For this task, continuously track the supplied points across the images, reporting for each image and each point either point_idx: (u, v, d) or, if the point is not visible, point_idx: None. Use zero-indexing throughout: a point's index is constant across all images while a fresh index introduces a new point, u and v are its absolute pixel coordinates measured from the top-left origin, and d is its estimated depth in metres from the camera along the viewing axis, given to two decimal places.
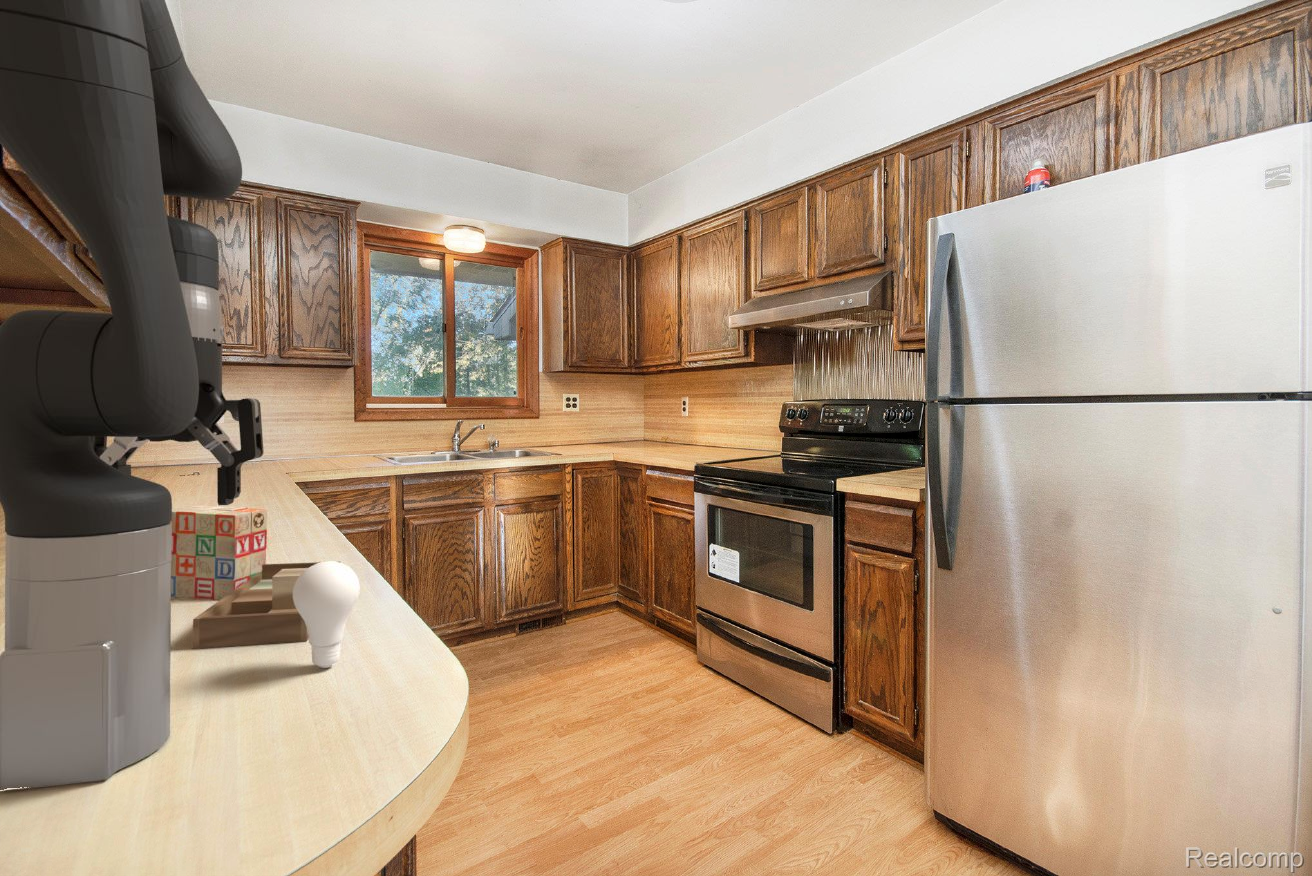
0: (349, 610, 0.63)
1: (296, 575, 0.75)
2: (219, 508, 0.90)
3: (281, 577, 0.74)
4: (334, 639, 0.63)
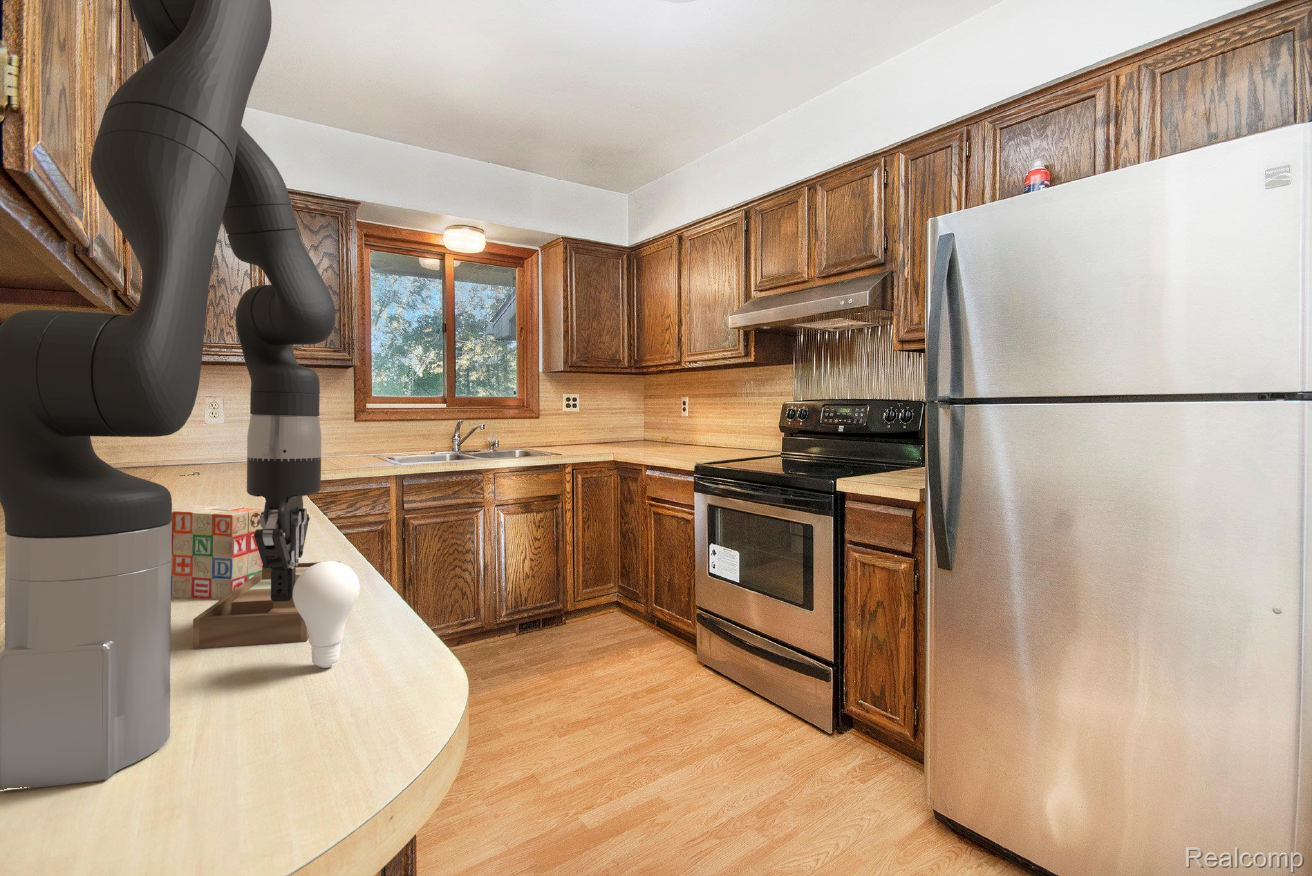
0: (349, 610, 0.63)
1: (297, 574, 0.76)
2: (216, 508, 0.90)
3: None
4: (334, 639, 0.63)
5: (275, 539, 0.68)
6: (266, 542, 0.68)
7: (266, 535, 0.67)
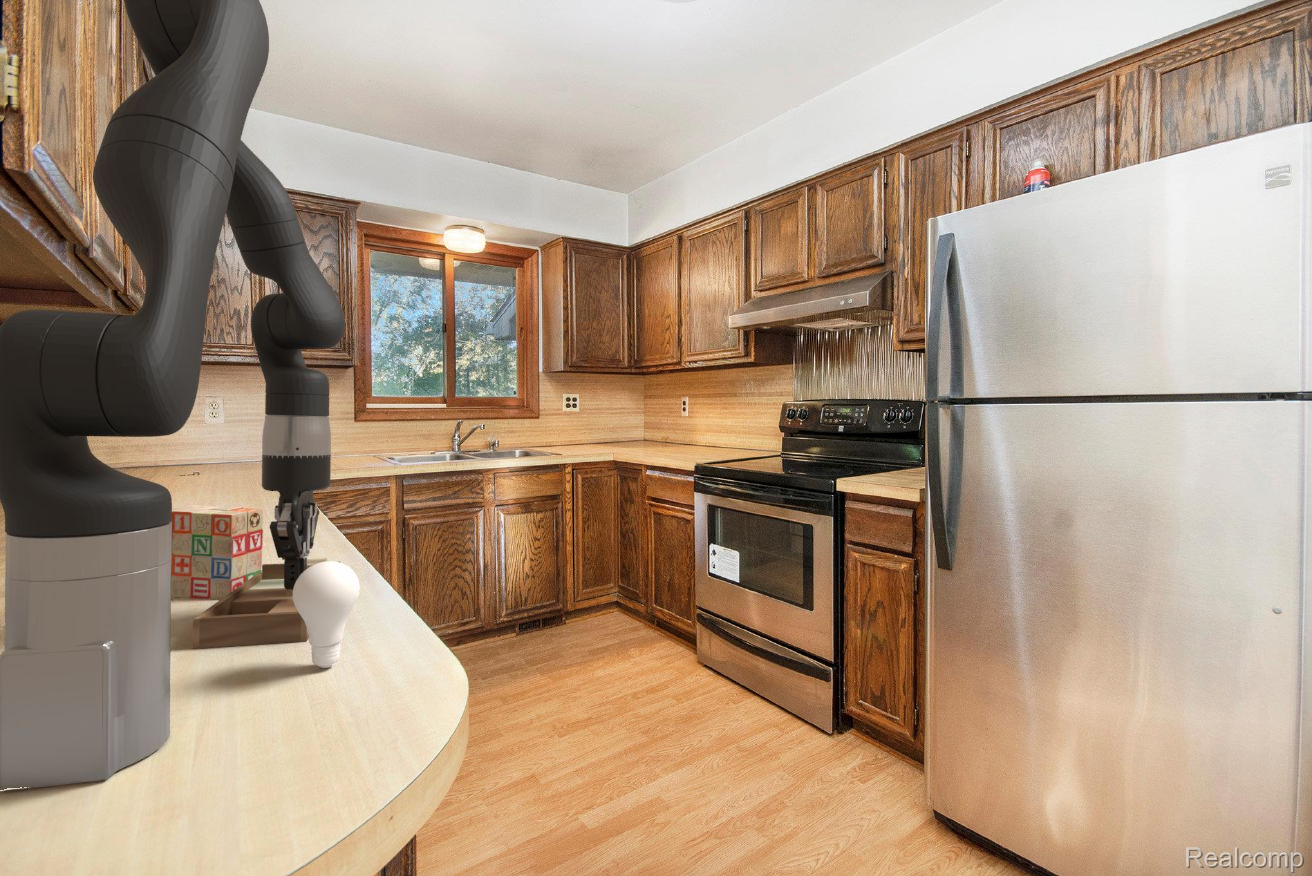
0: (349, 610, 0.63)
1: (307, 565, 0.81)
2: (215, 508, 0.90)
3: None
4: (334, 639, 0.63)
5: (289, 530, 0.73)
6: (280, 533, 0.73)
7: (280, 527, 0.72)
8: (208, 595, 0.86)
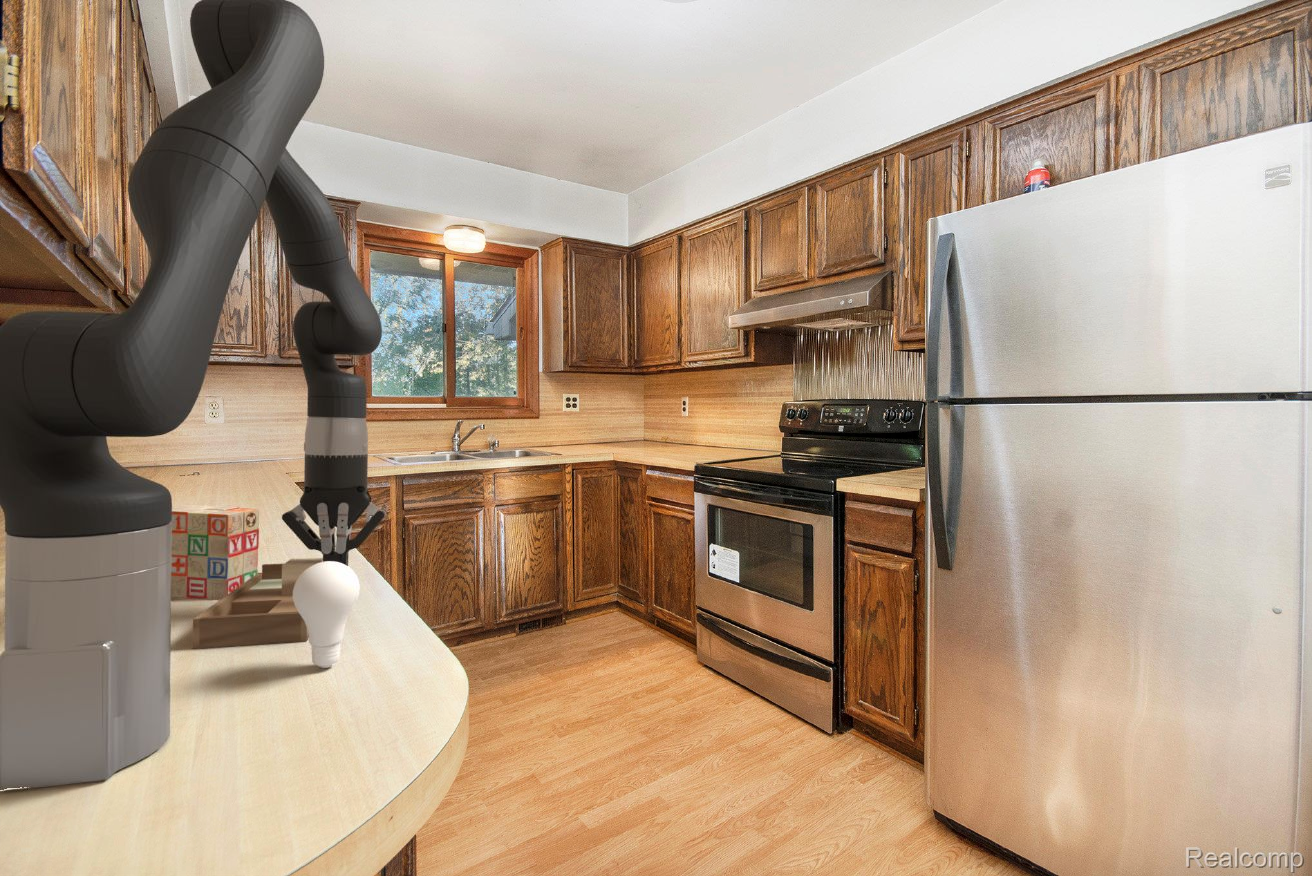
0: (349, 610, 0.63)
1: (304, 564, 0.81)
2: (211, 508, 0.90)
3: (290, 566, 0.80)
4: (334, 639, 0.63)
5: None
6: (381, 520, 0.84)
7: (385, 514, 0.84)
8: (204, 595, 0.86)
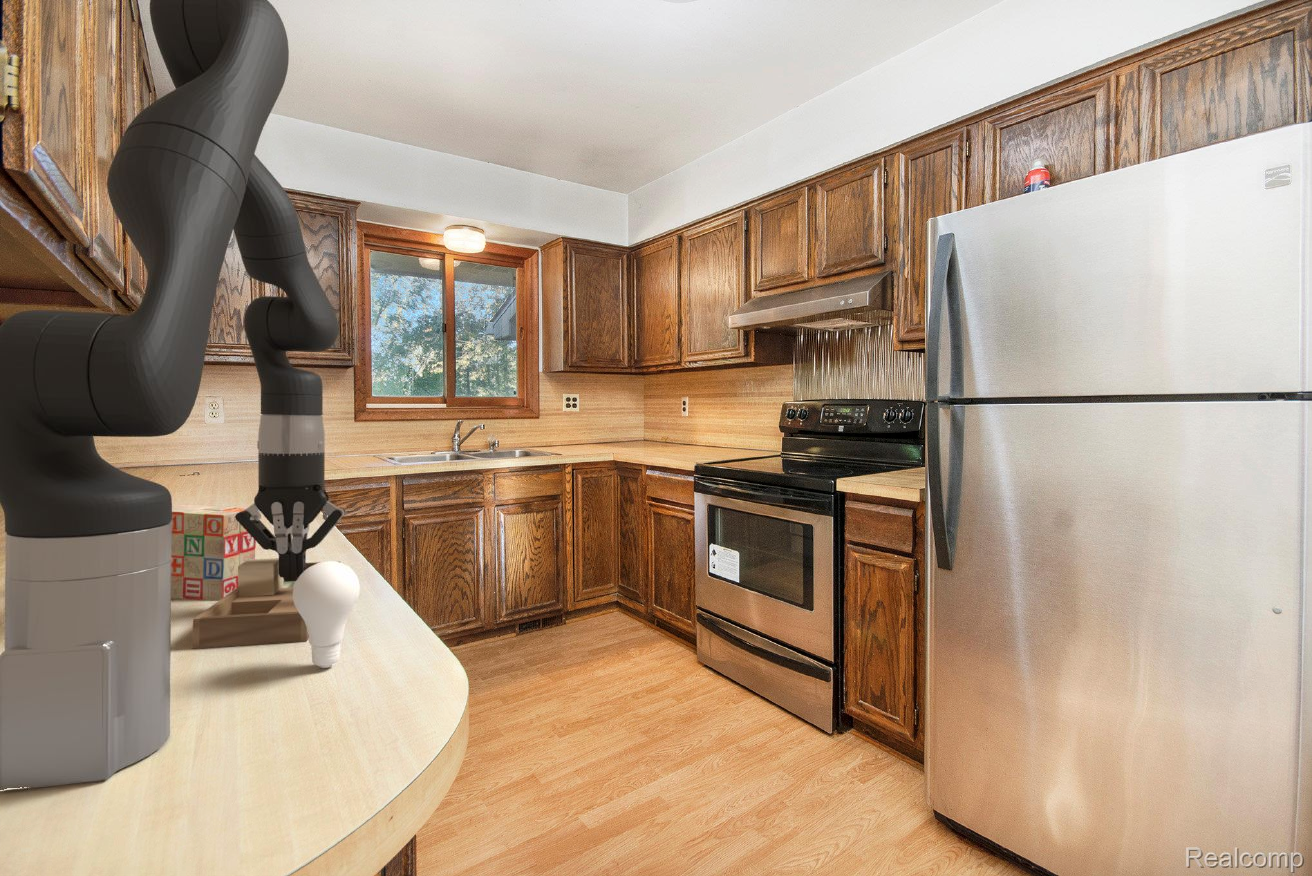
0: (349, 610, 0.63)
1: (260, 564, 0.80)
2: (208, 508, 0.90)
3: (246, 566, 0.79)
4: (334, 639, 0.63)
5: (342, 516, 0.84)
6: (338, 519, 0.83)
7: (343, 513, 0.83)
8: (200, 595, 0.86)
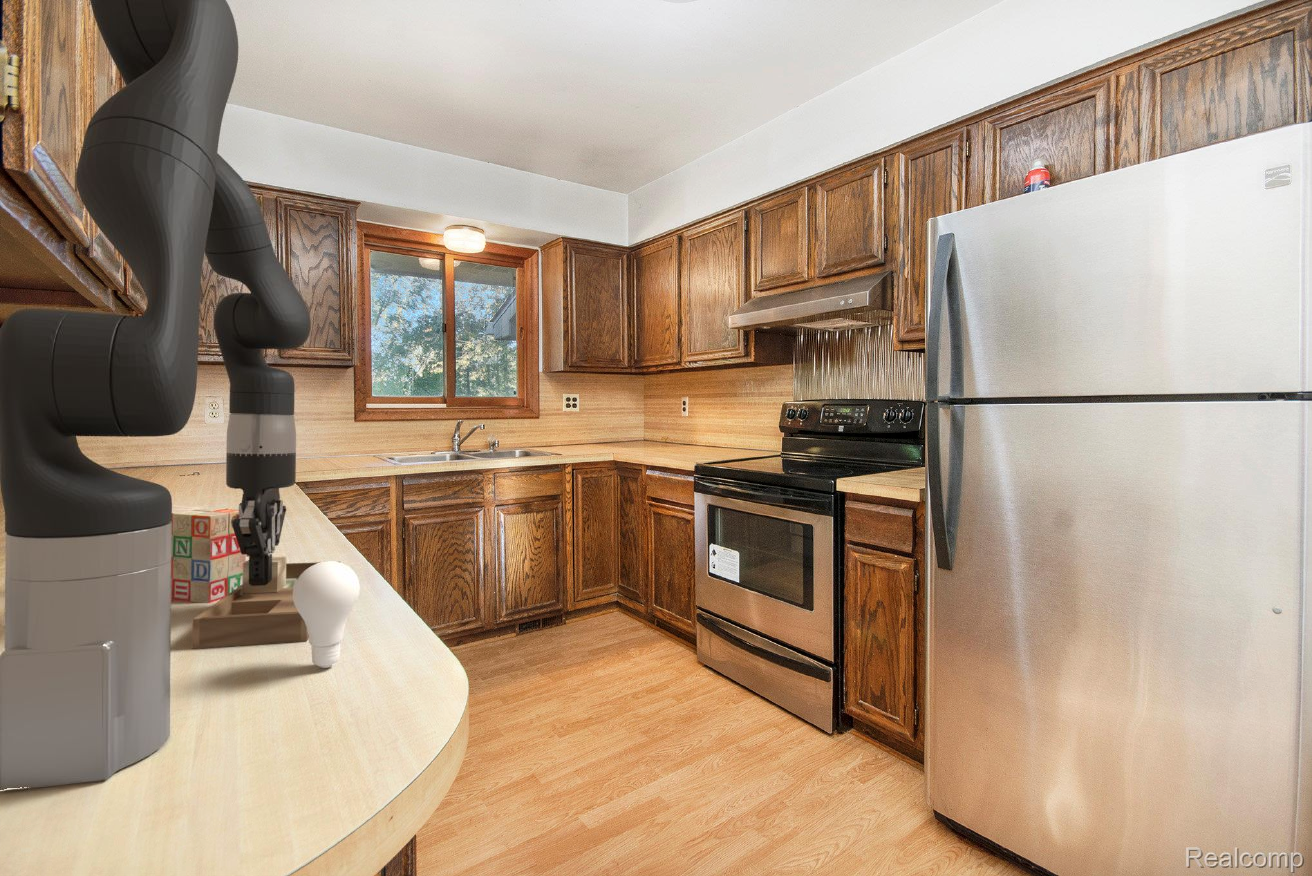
0: (349, 610, 0.63)
1: None
2: (199, 509, 0.89)
3: None
4: (334, 639, 0.63)
5: (251, 527, 0.74)
6: (243, 530, 0.74)
7: (243, 524, 0.73)
8: (188, 597, 0.85)
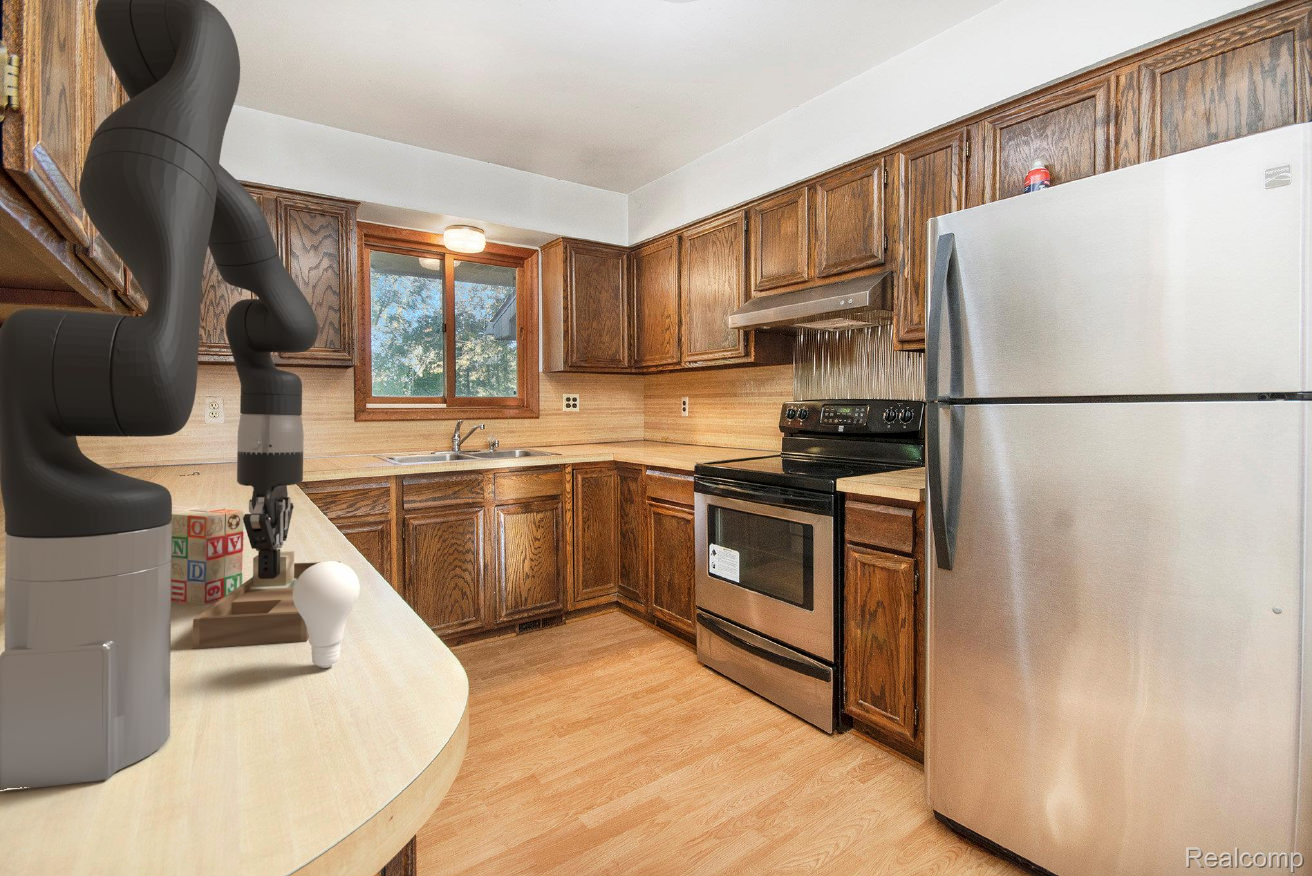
0: (349, 610, 0.63)
1: None
2: (196, 509, 0.88)
3: None
4: (334, 639, 0.63)
5: (261, 522, 0.77)
6: (253, 525, 0.77)
7: (253, 519, 0.77)
8: (184, 598, 0.85)
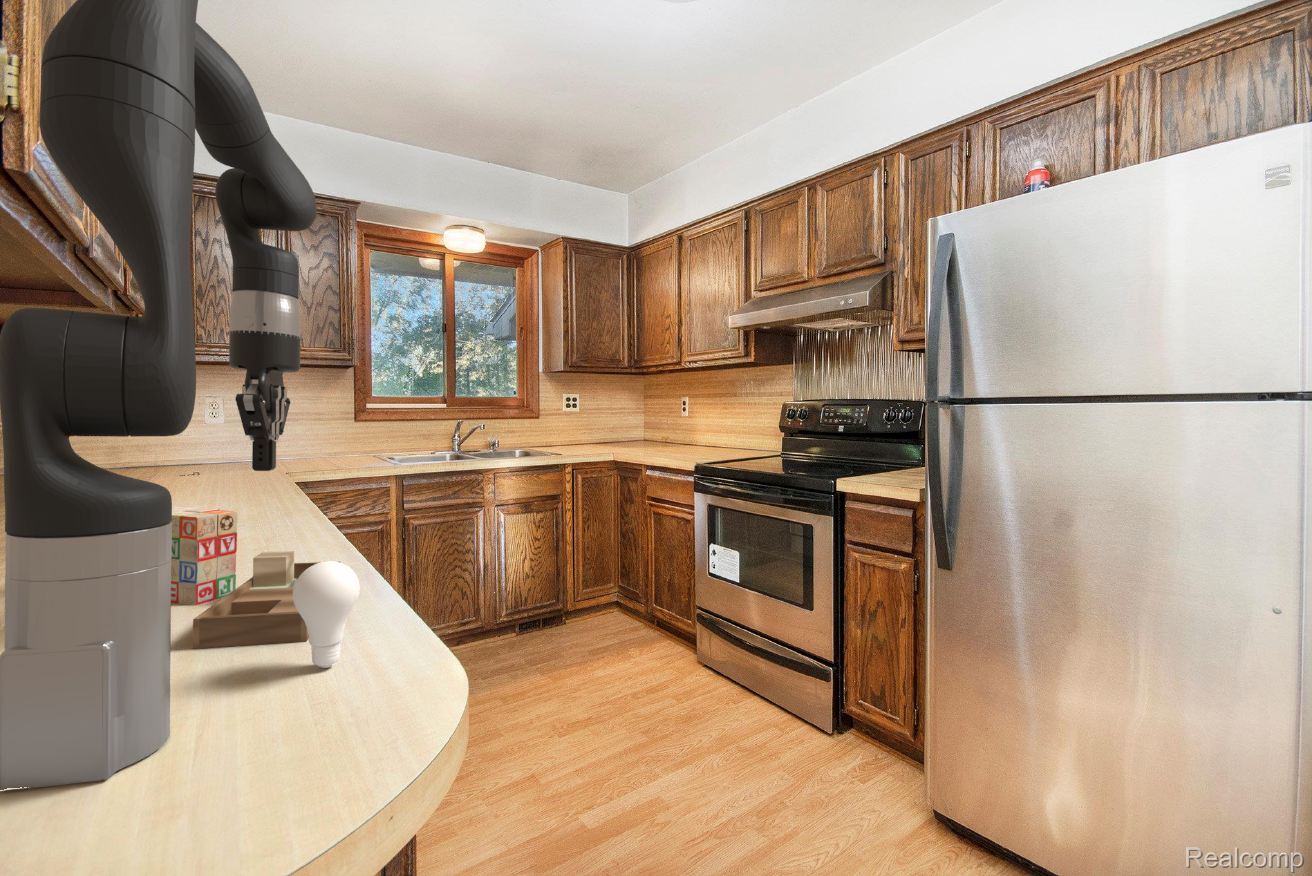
0: (349, 610, 0.63)
1: (274, 557, 0.85)
2: (190, 509, 0.88)
3: (261, 558, 0.84)
4: (334, 639, 0.63)
5: (255, 403, 0.72)
6: (247, 406, 0.72)
7: (246, 399, 0.71)
8: (176, 599, 0.84)
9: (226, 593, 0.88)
